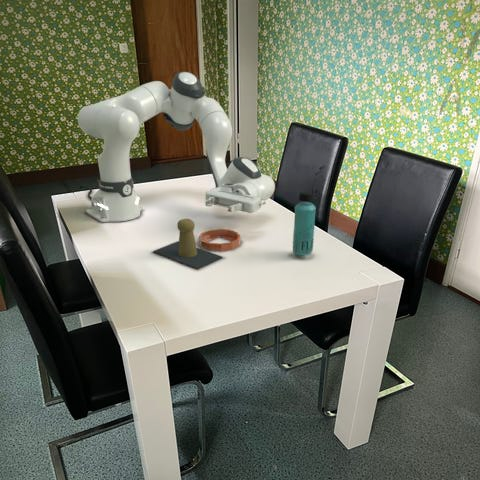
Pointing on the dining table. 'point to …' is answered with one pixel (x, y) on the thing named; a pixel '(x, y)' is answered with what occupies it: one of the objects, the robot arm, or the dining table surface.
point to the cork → (186, 238)
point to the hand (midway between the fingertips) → (218, 206)
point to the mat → (194, 262)
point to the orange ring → (222, 233)
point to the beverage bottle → (304, 225)
